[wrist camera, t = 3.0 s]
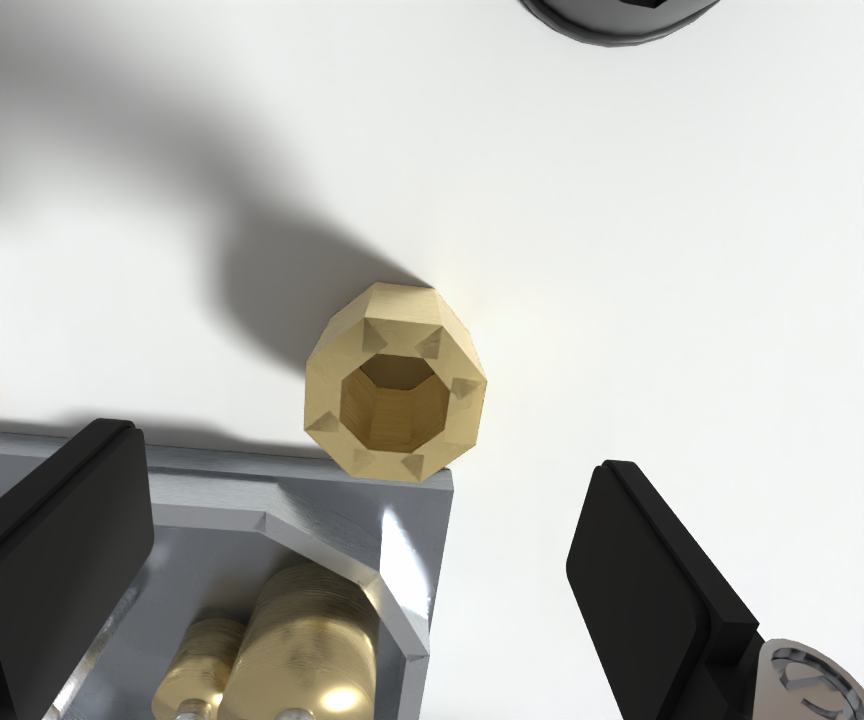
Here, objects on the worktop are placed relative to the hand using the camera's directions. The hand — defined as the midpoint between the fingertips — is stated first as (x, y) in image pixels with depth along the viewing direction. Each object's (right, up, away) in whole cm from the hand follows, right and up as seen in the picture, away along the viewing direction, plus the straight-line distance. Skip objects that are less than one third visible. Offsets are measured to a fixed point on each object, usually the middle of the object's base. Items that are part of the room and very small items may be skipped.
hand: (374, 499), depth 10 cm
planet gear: (0, +3, +10) cm, 10 cm away
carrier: (-9, -10, +15) cm, 20 cm away
